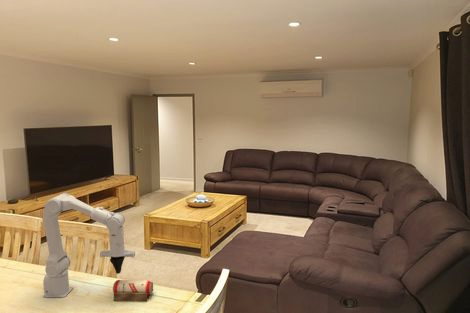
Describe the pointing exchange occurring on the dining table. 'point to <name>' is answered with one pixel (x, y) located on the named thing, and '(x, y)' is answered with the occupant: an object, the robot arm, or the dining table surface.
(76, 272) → the dining table surface
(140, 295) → the u rest
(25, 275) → the dining table surface
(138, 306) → the dining table surface
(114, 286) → the beer can
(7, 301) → the dining table surface
